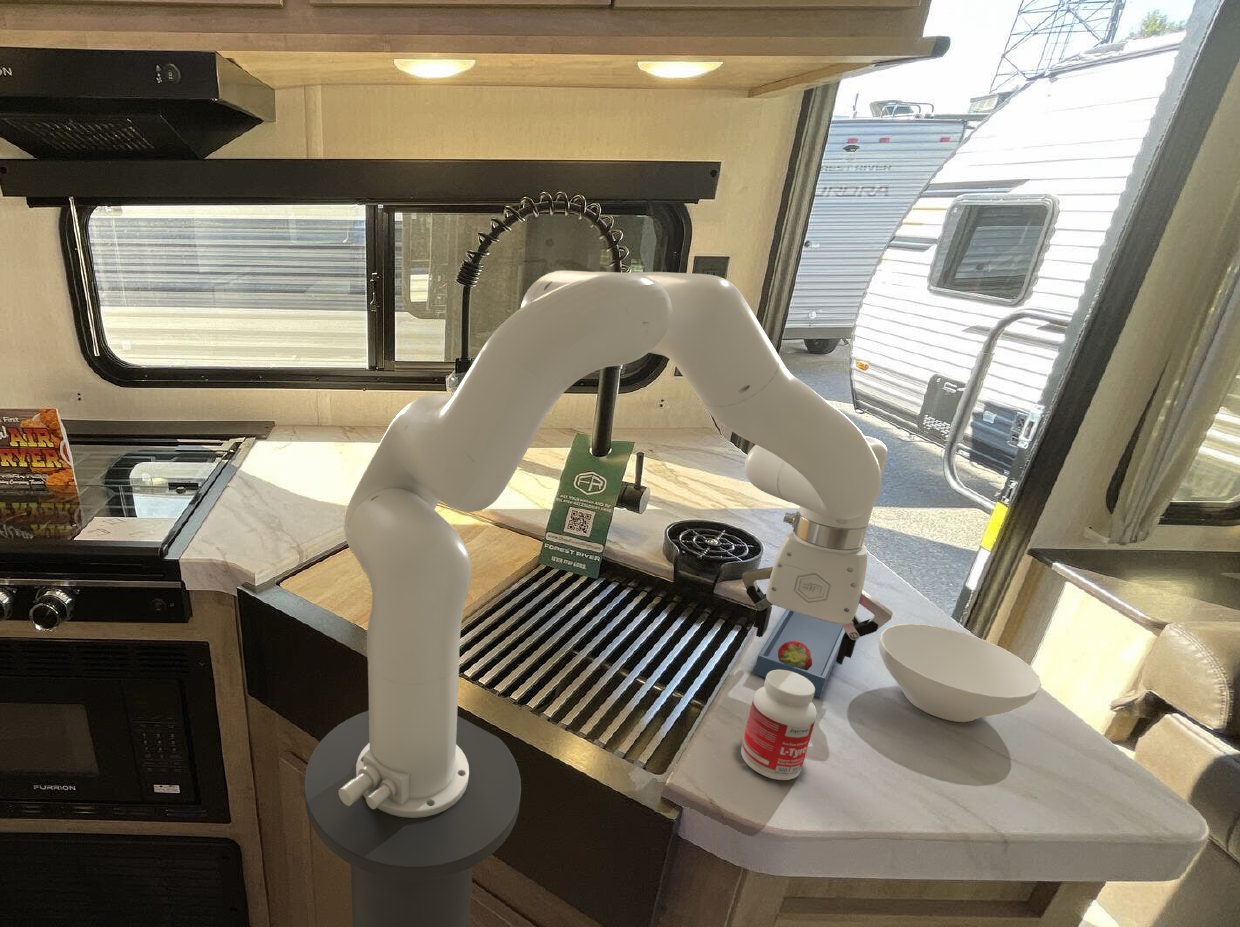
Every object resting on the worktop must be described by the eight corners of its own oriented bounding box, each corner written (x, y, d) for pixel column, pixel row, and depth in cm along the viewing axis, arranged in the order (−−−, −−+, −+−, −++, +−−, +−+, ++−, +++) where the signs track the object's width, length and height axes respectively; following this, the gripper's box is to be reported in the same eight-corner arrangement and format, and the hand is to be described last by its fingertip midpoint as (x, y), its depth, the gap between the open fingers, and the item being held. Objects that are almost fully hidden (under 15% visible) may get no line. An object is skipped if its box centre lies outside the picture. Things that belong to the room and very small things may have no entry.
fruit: (813, 665, 92) (821, 634, 90) (805, 685, 88) (814, 653, 86) (779, 654, 95) (786, 624, 93) (770, 673, 90) (778, 642, 88)
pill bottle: (776, 789, 71) (798, 706, 67) (728, 753, 77) (746, 674, 73) (812, 771, 74) (836, 689, 70) (764, 737, 79) (783, 659, 75)
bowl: (988, 764, 75) (1008, 714, 72) (841, 689, 88) (855, 644, 85) (1043, 717, 83) (1063, 670, 80) (901, 654, 95) (915, 612, 93)
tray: (819, 697, 86) (825, 678, 85) (753, 673, 91) (758, 655, 90) (853, 619, 105) (857, 602, 103) (796, 602, 109) (800, 586, 108)
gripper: (747, 522, 86) (724, 634, 92) (909, 560, 76) (870, 684, 82) (762, 506, 92) (739, 613, 98) (915, 540, 81) (879, 657, 87)
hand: (799, 645), depth 90 cm, fingers open, 9 cm apart
